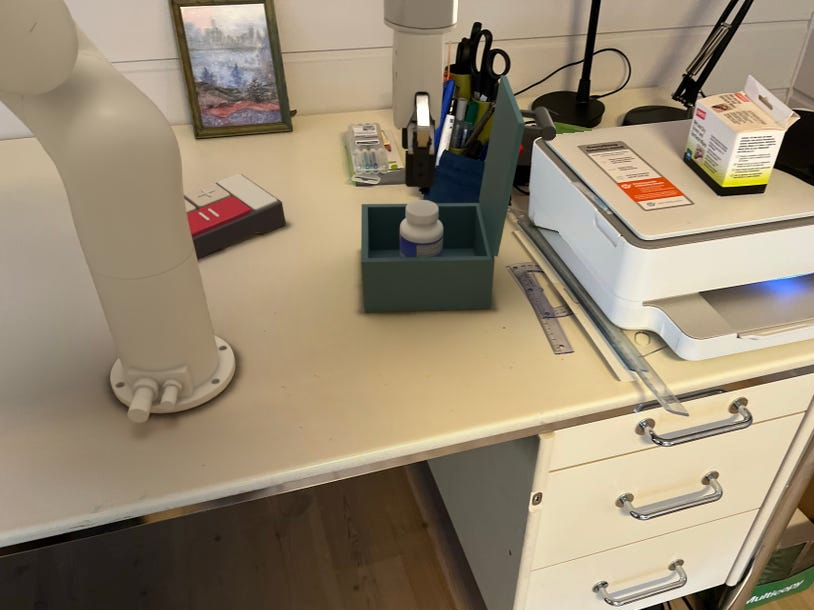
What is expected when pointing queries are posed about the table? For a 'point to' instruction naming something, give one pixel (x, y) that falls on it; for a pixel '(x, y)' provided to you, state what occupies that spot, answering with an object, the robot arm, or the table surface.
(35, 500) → the table surface
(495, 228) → the lid
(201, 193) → the calculator
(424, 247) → the pill bottle
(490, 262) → the case
